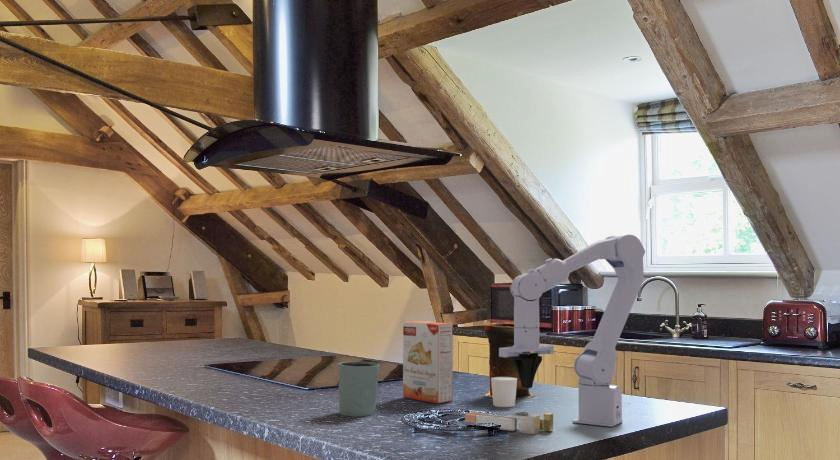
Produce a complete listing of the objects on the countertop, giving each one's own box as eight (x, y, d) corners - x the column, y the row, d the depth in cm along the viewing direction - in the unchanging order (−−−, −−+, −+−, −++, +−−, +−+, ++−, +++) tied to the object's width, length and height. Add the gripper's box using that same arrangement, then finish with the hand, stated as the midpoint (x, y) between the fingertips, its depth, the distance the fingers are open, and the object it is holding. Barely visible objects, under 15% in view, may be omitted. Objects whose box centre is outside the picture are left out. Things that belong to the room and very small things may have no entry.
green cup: (340, 409, 200) (340, 360, 201) (380, 409, 200) (381, 361, 200) (334, 416, 190) (335, 365, 191) (377, 417, 190) (377, 366, 190)
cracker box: (401, 397, 219) (402, 320, 220) (417, 395, 223) (418, 320, 224) (437, 404, 209) (437, 323, 210) (453, 401, 213) (453, 322, 214)
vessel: (517, 389, 235) (518, 321, 236) (545, 398, 222) (545, 325, 223) (474, 392, 229) (475, 322, 229) (500, 401, 216) (501, 327, 217)
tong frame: (539, 431, 174) (539, 413, 174) (533, 434, 171) (533, 415, 171) (472, 423, 182) (472, 405, 182) (465, 426, 179) (465, 408, 180)
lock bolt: (553, 430, 175) (553, 413, 175) (549, 431, 173) (549, 414, 173) (532, 427, 177) (532, 411, 177) (528, 428, 176) (528, 412, 176)
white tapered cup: (500, 402, 213) (500, 375, 214) (522, 405, 209) (522, 377, 209) (485, 405, 208) (485, 378, 208) (507, 408, 204) (507, 380, 204)
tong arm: (519, 428, 176) (519, 417, 177) (516, 429, 175) (516, 418, 175) (472, 422, 182) (473, 412, 183) (470, 423, 181) (470, 412, 181)
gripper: (539, 325, 190) (539, 383, 189) (490, 327, 182) (490, 387, 181) (559, 327, 184) (560, 386, 183) (510, 329, 176) (510, 391, 176)
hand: (527, 387), depth 182 cm, fingers closed
